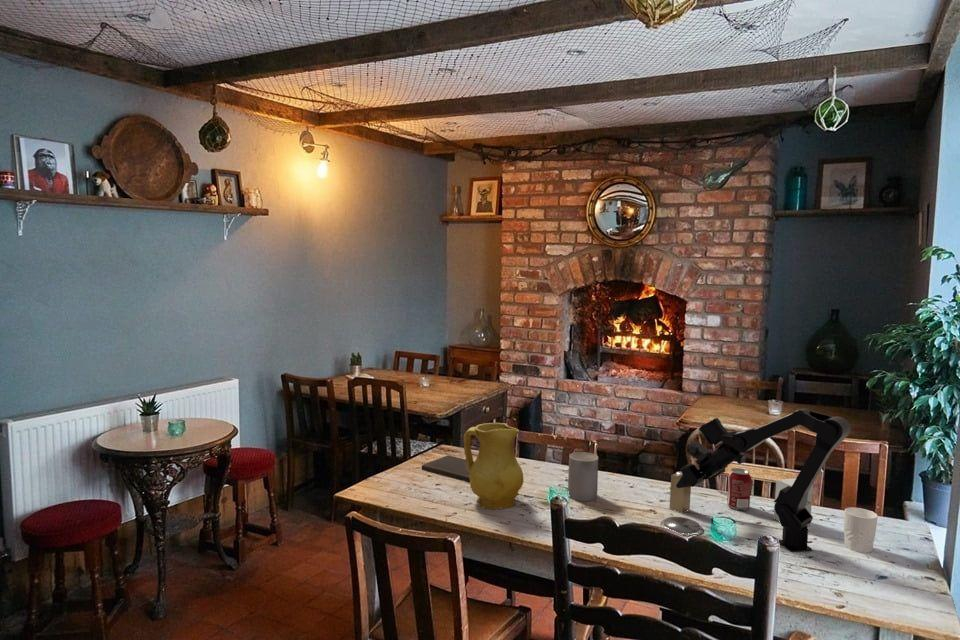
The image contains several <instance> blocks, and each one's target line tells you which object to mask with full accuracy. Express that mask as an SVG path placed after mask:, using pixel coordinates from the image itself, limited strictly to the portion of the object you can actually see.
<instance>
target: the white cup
mask: <svg viewBox="0 0 960 640" xmlns="http://www.w3.org/2000/svg"><path fill="white" fill-rule="evenodd" d="M878 517H879V515H878V514H877V513H875V512H874V511H872V510H869V509H865V508H861V507H846V508H844V521H843V524H844V525H843V529H844V530H843V531H844V546H845V547H846V548H847V549H849V550H851V551H853V552H854V551H855V552H858V553H865V554H866V553H871V552H873V550H874V549H873V548H874V542H875V537H876V532H877V523H878Z"/></svg>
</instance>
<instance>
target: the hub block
mask: <svg viewBox="0 0 960 640" xmlns="http://www.w3.org/2000/svg"><path fill="white" fill-rule="evenodd" d="M682 476H683V474H682V472H681V470H680V471H676V472H675V473H673V474H671V475H670V492H669V510H671V509H672V511H674V510H676V511H675V512H677V511H679V512H678V513H680V512H682V513H681V514H683V512H684V513H685V511H686V512H688V511H689V509H690V507H691V495H692V491H691V490H692V487H684V488H677V486H676V484H677V483H678V482H679V480H680V479H681V477H682ZM687 510H688V511H687Z"/></svg>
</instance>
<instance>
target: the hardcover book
mask: <svg viewBox="0 0 960 640" xmlns="http://www.w3.org/2000/svg"><path fill="white" fill-rule="evenodd" d="M421 470H423V471H426V472H430V473H432V474H433V473H434V474H437V475H439V476H440V475H441V476H443V477H447V478H451V479H456V480H458V481H462V482H466V483H470V479H469V472H468V470H467V462H466V458H461V457H457V456H453V455H449V454H448V455H445V456H442V457H439V458H437V459H434V460H431V461H428V462H426V463H423V464H422V465H421Z"/></svg>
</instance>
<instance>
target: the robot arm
mask: <svg viewBox="0 0 960 640" xmlns="http://www.w3.org/2000/svg"><path fill="white" fill-rule="evenodd" d="M798 426H802V427H804V428H805V429H807V430H809V431H811V432H813V433H814V434H816V435H815V440H814V441H815V442H814V446H813V448H812V450H811V451H810V454H809V455H808V456H807V459H806V460H805V462H804V464H803V466H802V467H801V469H800V470H799V472H798V475H797V476H796V480H795V481H794V483H793V485H792V487H790V486H787V487H785V488H783V489H782V490H780V492H779V495H778V497H777V499H776V500H775V499H774V500H773V502H774V506H773V507H774V508H773V510H774V509H775V512H776V514H777V515H778V516H779V520H780V522H779V523H780V526H781V527H782V537H781V538H782V539H778V540H779V542H780V543H779V545H781V546H783V547H784V548H785V549H787V550H788V551H790V552H811V551H813V548H811V547H810V546H809V545H808V538H809V528H808V526H807V525H808V524H810V525H811V523H812V521H813V520H814V517H813V515H812V513H811V514H810V513H809V512H808V510H807V509H806V508H805V506H806V503H807V498H808V492H809V490H810V488H811V487H812V486H814V483H815V481H816V480H817V478H818V476H819V475H820V473H821V471H822V469H823V467H824V466H825V464H826V463H827V461H828V459H829V458H830V456H831V453H832V452H833V451H834V450H835V449H836V448H837V447H838V446H839V445H840V444H842V442H843V441H844V440H845V439H846V438H847V437H848V436H849V434H850V433H851V430H852V427H851V425H850V423H849V421H848V420H847V419H846V418H844V417H842V416H837V415H836V416H831V415H829V414H825V413H821V412H816V411H814V410H811V409H807V408H803V407H802V408H798V409H797V410H794V411H793V412H792V413H789V414H787V415H785V416H782V417H781V418H778V419H775V420H773V421H771V422H769V423H767V424H764V425H761V426H758V427H753V428H747V429H744V430H740V431H730V432H728V431H727V429H726V428H725V427H724V425H723V424H722V422H721V421H720V418H718V417H715V418H713V419H712V420H709V421H708V422H707V423H704V424H701V426H700V427H699V428H698V429H697V430H698V431H699V433H700V434H701V435H702V437H703V438H704V439H705V441H706V443H708V445H709V446H714V447H716V446H718V445H719V446H718V447H716V448H715V449H713V450H709V449H708V448H707V447H706V446H705V445H704V444H702V443H701V442H700V441H698V440H694V441H693V440H692V441H691V442H689V443H688V445H686V446H685V449H686V450H685V452H686V453H687V454H688V455H690V457H692V458H694V459H696V460H695V461H694V462H695V463H696V465H698V468H699V469H698V468H697V466H696V465H695V464H693V463H688V464H685V465H683V466H682V467H681V468H679V469H680V472H682V474H683V476H682V477H681V479H680V480H679V482H678V483H677V484H676V486H677V488H684V487H691V488H692V487H693V488H694V487H696V486H698V485H700V484H701V483H703V481H705V480H709V479H713V478H716V477H719V476H721V475H723V474H724V473H725V472H726V468H727V467H728V466H729V465H731V464H732V463H733V462H734V461H736V462H737V464H738V465H741V464H744V463H745V462H747V461H746V456H747V454H746V453H745V452H747V451H750V450H752V449H755V448H757V447H758V446H760V445H761V444H763V443H764V442H765V441H766V440H768V439H769V438H772V437H774V436H776V435H779V434H781V433H784V432H786V431H789V430H791V429H793V428H796V427H798ZM775 502H776V503H775Z"/></svg>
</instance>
